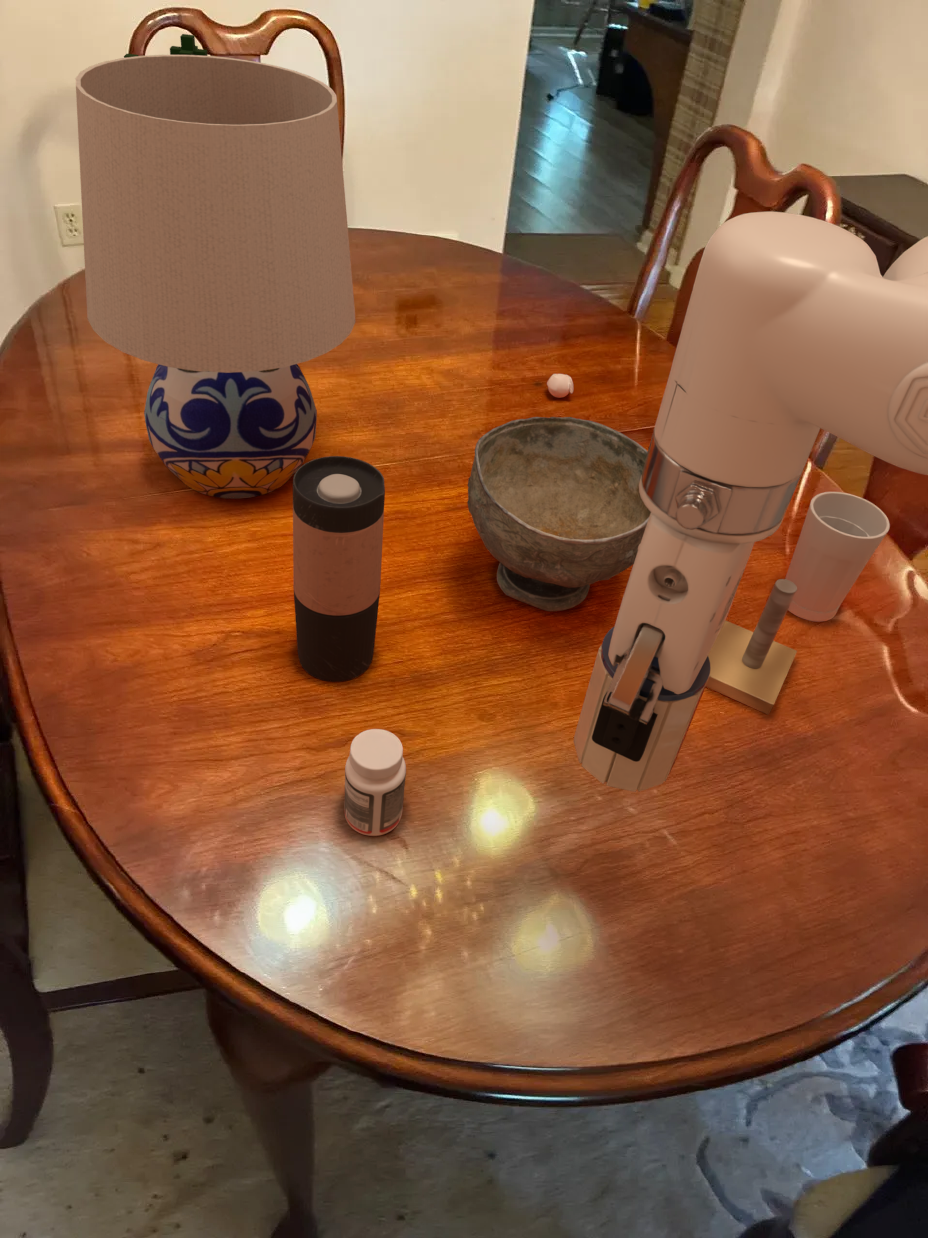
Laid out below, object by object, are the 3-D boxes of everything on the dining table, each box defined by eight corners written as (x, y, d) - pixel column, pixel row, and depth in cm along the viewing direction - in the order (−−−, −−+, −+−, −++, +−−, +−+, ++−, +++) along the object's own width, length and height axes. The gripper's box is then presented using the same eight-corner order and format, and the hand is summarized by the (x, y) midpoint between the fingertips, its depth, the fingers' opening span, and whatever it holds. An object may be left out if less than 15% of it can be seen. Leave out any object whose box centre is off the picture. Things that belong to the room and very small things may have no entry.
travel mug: (278, 652, 88) (271, 475, 74) (339, 617, 92) (343, 444, 79) (331, 697, 84) (334, 520, 71) (392, 658, 89) (406, 485, 75)
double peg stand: (792, 661, 95) (834, 575, 87) (768, 715, 88) (811, 628, 81) (665, 606, 99) (694, 519, 91) (634, 654, 93) (663, 566, 85)
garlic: (569, 406, 128) (572, 392, 132) (575, 384, 126) (577, 371, 130) (534, 397, 129) (538, 384, 132) (539, 376, 127) (543, 363, 130)
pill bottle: (398, 787, 78) (404, 722, 72) (405, 835, 74) (412, 770, 69) (341, 791, 77) (343, 725, 71) (346, 840, 73) (348, 774, 68)
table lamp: (106, 540, 97) (26, 123, 70) (121, 406, 116) (63, 39, 89) (364, 530, 103) (381, 142, 76) (338, 405, 122) (344, 59, 95)
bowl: (523, 671, 89) (549, 550, 79) (423, 556, 101) (434, 437, 90) (674, 612, 98) (715, 496, 88) (566, 512, 109) (592, 399, 99)
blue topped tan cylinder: (686, 738, 63) (724, 644, 57) (652, 808, 58) (690, 713, 52) (598, 698, 65) (626, 603, 59) (558, 762, 60) (584, 666, 54)
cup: (774, 618, 99) (815, 529, 91) (768, 572, 105) (806, 485, 97) (849, 633, 99) (896, 544, 91) (838, 586, 105) (882, 499, 97)
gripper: (742, 596, 40) (646, 834, 52) (826, 430, 52) (732, 654, 64) (584, 534, 42) (527, 775, 54) (699, 387, 54) (631, 612, 66)
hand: (638, 708), depth 59 cm, fingers closed on blue topped tan cylinder, 7 cm apart
